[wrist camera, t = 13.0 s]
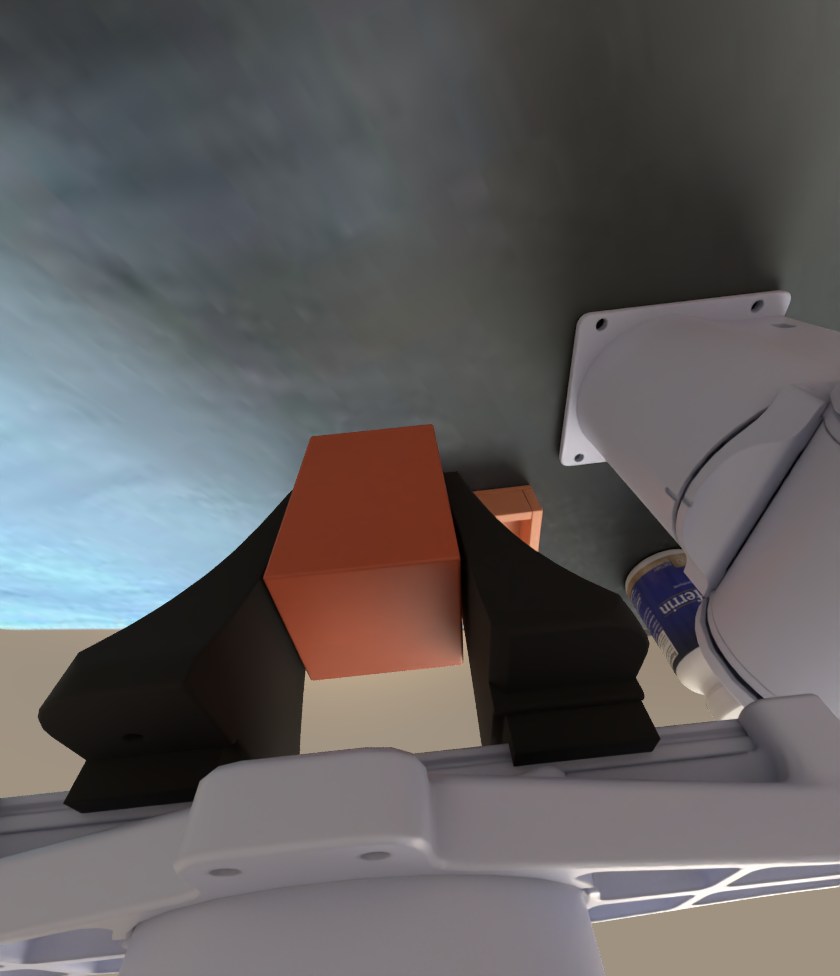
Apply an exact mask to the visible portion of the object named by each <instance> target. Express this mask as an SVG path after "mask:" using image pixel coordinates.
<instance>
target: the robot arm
mask: <svg viewBox="0 0 840 976" xmlns="http://www.w3.org/2000/svg"><path fill="white" fill-rule="evenodd" d="M790 300H791V295H790V293H789V292H786V291H781V290H775V291H767V292H758V293H750V294H741V295H733V296H724V297H716V298H707V299H699V300H690V301H682V302H673V303H665V304H656V305H648V306H639V307H631V308H622V309H614V310H605V311H597V312H589V313H586V314H584V315H583V316H581V317H580V319H579V320H578V322H577V325H576V333H575V340H574V348H573V355H572V363H571V370H570V377H569V385H568V392H567V400H566V407H565V415H564V422H563V430H562V437H561V444H560V452H559V460H560V461H561V463H562V464H563V465H565V466H573V465H581V464H590V463H598V462H608V463H609V464H610V466H611V467H612V468H613V469H614V470H615V471H616V472H617V474H618V475H619V476H620V477H621V478H622V479H623V481H624V482H625V483H626V484H627V485H628V486H629V487H630V489H631V490H632V491H633V492H634V493H635V494H636V496H637V497H638V498H639V499H640V500H641V501H642V503H643V504H644V505H645V506H646V507H647V508H648V509H649V511H650V512H651V513H652V514H653V515H654V516H655V518H656V519H657V520H658V521H659V522H660V523H661V525H662V526H663V527H664V528H665V529H666V530H667V531H668V533H669V534H670V535H671V536H672V537H673V538H674V540H675V541H676V542H677V543H678V544H679V545H680V546H681V548H682V549H683V550H684V552H685V554H686V557H687V563H686V567H685V569H684V573H685V574H686V575H687V577H688V578H689V579H690V580H691V582H692V583H693V584H694V585H695V587H696V588H697V589H698V590H699V591H700V593H701V594H702V595H703V596H704V597H705V598H704V599H703V601H702V602H701V604H700V605H699V607H698V610H697V613H696V617H695V632H696V636H697V641H698V644H699V647H700V649H701V651H702V654H703V656H704V658H705V660H706V661H707V663H708V665H709V666H710V668H711V670H712V671H713V673H714V674H715V675H716V677H717V678H718V679H719V681H720V682H721V683H722V685H723V686H724V687H725V688H726V689H727V690H728V692H729V693H730V694H731V695H732V696H733V697H734V698H735V699H736V700H737V701H738V702H739V703H740V704H741V705H742V706H743V707H744V708H743V710H742V711H741V713H740V714H739V717H738V719H729V720H720V721H711V722H702V723H692V724H683V725H674V726H665V727H654V725H653V723H652V721H651V719H650V717H649V715H648V713H647V711H646V709H645V707H644V705H643V703H642V701H641V700H643V699H644V692H643V690H642V688H641V686H640V685H639V683H638V681H637V679H636V676H637V674H638V672H639V670H640V668H641V666H642V664H643V661H644V659H645V657H646V655H647V652H648V648H649V640H648V637H647V634H646V633H645V631H644V629H643V628H642V626H641V625H640V623H639V621H638V620H637V618H636V617H635V615H634V614H633V612H632V611H631V610H630V608H629V607H628V606H627V605H626V603H625V602H624V601H623V600H622V598H621V597H620V595H618V594H616V593H614V592H612V591H610V590H607V589H605V588H603V587H601V586H599V585H596V584H594V583H592V582H590V581H588V580H585V579H583V578H581V577H580V576H578V575H576V574H574V573H572V572H570V571H568V570H567V569H565V568H563V567H561V566H559V565H558V564H556V563H554V562H553V561H551V560H550V559H548V558H547V557H545V556H544V555H542V554H540V553H539V552H537V551H536V550H534V549H533V548H532V547H530V546H529V545H528V544H526V543H525V542H524V541H522V540H521V539H520V538H519V537H517V536H516V535H515V534H514V533H513V532H511V531H510V530H509V529H508V528H507V527H506V526H505V525H504V524H503V523H501V522H500V521H499V520H498V519H497V518H496V517H495V516H494V515H493V514H492V513H491V512H490V511H489V510H488V508H487V507H486V506H485V505H484V504H483V503H482V502H481V501H480V500H479V498H478V497H477V496H476V495H475V494H474V492H473V491H472V490H471V489H470V487H469V486H468V485H467V483H466V482H465V481H464V479H463V478H462V476H461V475H460V474H459V473H458V472H457V471H456V472H446V473H443V475H444V480H445V485H446V490H447V495H448V500H449V504H450V509H451V514H452V519H453V524H454V529H455V534H456V539H457V543H458V548H459V553H460V560H461V596H462V619H463V625H464V631H465V637H466V643H467V650H468V656H469V663H470V668H471V676H472V682H473V688H474V695H475V702H476V709H477V716H478V722H479V729H480V737H481V743H482V746H480V747H471V748H462V749H453V750H443V751H434V752H425V753H415V754H412V753H410V752H406V751H403V750H399V749H395V748H392V747H389V748H388V747H385V748H384V747H376V748H375V747H370V748H369V747H365V748H355V749H347V750H337V751H328V752H318V753H309V754H300V733H301V718H302V703H303V692H304V680H305V670H306V669H305V666H304V664H303V662H302V660H301V658H300V656H299V654H298V652H297V650H296V647H295V645H294V643H293V641H292V639H291V637H290V635H289V633H288V631H287V628H286V626H285V624H284V622H283V620H282V618H281V616H280V614H279V612H278V609H277V607H276V605H275V603H274V601H273V599H272V597H271V595H270V593H269V590H268V588H267V586H266V584H265V582H264V579H263V577H264V574H265V571H266V568H267V565H268V562H269V559H270V556H271V553H272V550H273V547H274V544H275V541H276V538H277V535H278V532H279V530H280V527H281V524H282V521H283V518H284V515H285V512H286V509H287V506H288V503H289V500H290V497H291V494H292V491H293V490H292V491H291V492H290V493H289V494H288V495H287V496H286V497H285V498H284V499H283V501H282V502H281V503H280V504H279V505H278V506H277V507H276V508H275V510H274V511H273V512H272V513H271V514H270V515H269V516H268V517H267V518H266V519H265V520H264V521H263V523H262V524H261V525H260V526H259V527H258V528H257V529H256V530H255V531H254V532H253V533H252V534H251V535H250V536H249V537H248V538H247V539H246V540H245V541H244V542H243V543H242V544H241V545H240V546H239V547H238V548H237V549H236V550H235V551H233V552H232V553H231V554H230V555H229V556H228V557H227V558H226V559H224V560H223V561H222V562H221V563H220V564H219V565H217V566H216V567H215V568H214V569H212V570H211V571H210V572H209V573H208V574H206V575H205V576H204V577H202V578H201V579H200V580H198V581H197V582H195V583H194V584H193V585H191V586H190V587H188V588H187V589H186V590H184V591H183V592H181V593H180V594H179V595H177V596H176V597H175V598H173V599H172V600H170V601H169V602H167V603H165V604H164V605H162V606H161V607H159V608H158V609H156V610H154V611H153V612H151V613H150V614H148V615H146V616H145V617H143V618H141V619H140V620H138V621H136V622H135V623H133V624H131V625H129V626H128V627H126V628H124V629H122V630H120V631H118V632H117V633H115V634H113V635H111V636H109V637H107V638H105V639H104V640H102V641H100V642H98V643H96V644H94V645H92V646H91V647H89V648H87V649H85V650H83V651H81V652H79V653H78V654H77V656H76V657H75V659H74V660H73V662H72V663H71V664H70V666H69V667H68V669H67V670H66V672H65V673H64V674H63V676H62V677H61V679H60V681H59V682H58V683H57V685H56V686H55V687H54V689H53V690H52V692H51V693H50V695H49V696H48V698H47V699H46V700H45V702H44V703H43V705H42V706H41V708H40V709H39V714H38V719H39V721H40V723H41V726H42V728H43V729H44V730H45V731H46V732H47V733H48V734H49V735H50V736H51V737H53V738H54V739H56V740H57V741H59V742H60V743H62V744H63V745H65V746H66V747H68V748H69V749H71V750H72V751H73V752H75V753H77V754H78V755H79V756H81V757H82V758H84V759H85V760H86V762H85V764H84V766H83V767H82V769H81V771H80V773H79V775H78V777H77V779H76V780H75V782H74V784H73V786H72V788H71V790H70V791H64V792H55V793H46V794H36V795H27V796H18V797H8V798H0V976H83V975H97V974H112V973H119V975H118V976H606V974H605V970H604V966H603V963H602V959H601V956H600V952H599V949H598V945H597V942H596V938H595V935H594V931H593V927H592V924H591V923H596V922H603V921H609V920H615V919H622V918H628V917H634V916H641V915H647V914H653V913H660V912H667V911H673V910H679V909H685V908H692V907H698V906H705V905H711V904H717V903H724V902H730V901H737V900H744V899H751V898H757V897H764V896H771V895H778V894H786V893H794V892H800V891H808V890H817V889H825V888H834V887H840V332H838V331H834V330H831V329H827V328H824V327H820V326H816V325H813V324H809V323H805V322H802V321H798V320H794V319H791V318H787V317H784V315H785V313H786V310H787V308H788V306H789V303H790ZM756 301H757V304H756V306H755V307H754V308H753V309H752V310H751V307H752V305H753V304H754V303H755V302H756ZM600 319H604V323H603V325H602V326H601V327H600V328H598V329H596V324H597V322H598V321H599V320H600ZM577 454H581V455H580V456H579V457H578V458H575V456H576V455H577ZM299 754H300V755H299Z"/></svg>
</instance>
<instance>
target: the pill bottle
mask: <svg viewBox="0 0 840 976" xmlns="http://www.w3.org/2000/svg"><path fill="white" fill-rule="evenodd" d="M686 563H687V557H686V554H685V552H684V550H683V549H672V550H666V551H663V552H659V553H657V554H654V555H652V556H650V557H648V558H646V559H644V560H643V561H641V562H640V563H639V564H638V565H636V566H635V567H634V568H633V569H632V571H631V572H630V573H629V575H628V577H627V579H626V584H625V588H626V592H627V595H628V596H629V598H630V600H631V602H632V603H633V605H634V607H635V608H636V610H637V612H638V613H639V615H640V617H641V618H642V620H643V622H644V623H645V625H646V626H647V628H648V630H649V631H650V633H651V635H652V636H653V638H654V640H655V641H656V643H657V644H658V646H659V648H660V649H661V651H662V652H663V654H664V656H665V657H666V659H667V661H668V662H669V664H670V666H671V667H672V669H673V670H674V673H675V674H676V675H677V677H678V678H679V680H680V681H681V682H682V684H683V685H685V686H686V687H687V688H688V689H690V690H692V691H694V692H696V693H699V694H703V695H705V697H706V698H707V699H706V706H707V709H708V710H709V711H710V713H711V714H712V716H713V717H714V719H715V721H720V720H729V719H738V717H739V714H740V713H741V711H742V710H743V708H744V707H743V706H742V705H741V704H740V703H739V702H738V701H737V700H736V699H735V698H734V697H733V696H732V695H731V694H730V693H729V692H728V690H727V689H726V688H725V687H724V686H723V685H722V683H721V682H720V681H719V679H718V678H717V677H716V675H715V674H714V673H713V671H712V670H711V668H710V666H709V665H708V663H707V661H706V660H705V658H704V656H703V654H702V651H701V649H700V647H699V644H698V641H697V636H696V632H695V617H696V613H697V610H698V607H699V605H700V604H701V602H702V601H703V599H704V598H705V597H704V596H703V595H702V594H701V593H700V591H699V590H698V589H697V588H696V587H695V585H694V584H693V583H692V582H691V580H690V579H689V578H688V577H687V575H686V574H685V573H684V569H685V567H686Z"/></svg>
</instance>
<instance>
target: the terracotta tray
mask: <svg viewBox="0 0 840 976" xmlns="http://www.w3.org/2000/svg"><path fill="white" fill-rule="evenodd" d="M473 492H474V494H475V495H476V496H477V497H478V498H479V500H480V501H481V502H482V503H483V504H484V505H485V506H486V507H487V508H488V510H489V511H490V512H491V513H492V514H493V515H494V516H495V517H496V518H497V519H498V520H499V521H500V522H501V523H503V524H504V525H505V526H506V527H507V528H508V529H509V530H510V531H511V532H513V533H514V534H515V535H516V536H517V537H519V538H520V539H521V540H522V541H524V542H525V543H526V544H528V545H529V546H530V547H532V548H533V549H534V550H536V551H537V552H538V547H539V538H540V530H541V521H542V513H543V509H542V507H541V506H540V504H539V502H538V500H537V498H536V496H535V494H534V492H533V490H532V488H531V486H530V485H525V486H516V487H508V488H499V489H490V490H482V491H473ZM462 622H463V619H462Z"/></svg>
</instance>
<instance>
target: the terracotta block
mask: <svg viewBox="0 0 840 976" xmlns="http://www.w3.org/2000/svg"><path fill="white" fill-rule="evenodd" d="M263 579H264V582H265V584H266V586H267V588H268V590H269V593H270V595H271V597H272V599H273V601H274V603H275V605H276V607H277V609H278V612H279V614H280V616H281V618H282V620H283V622H284V624H285V626H286V628H287V631H288V633H289V635H290V637H291V639H292V641H293V643H294V645H295V647H296V650H297V652H298V654H299V656H300V658H301V660H302V662H303V664H304V666H305V669H306V671H307V673H308V675H309V677H310V679H311V680H322V679H331V678H341V677H350V676H360V675H369V674H378V673H387V672H397V671H406V670H416V669H425V668H435V667H443V666H453V665H461V664H463V632H462V596H461V560H460V553H459V548H458V543H457V539H456V534H455V529H454V524H453V519H452V514H451V509H450V504H449V500H448V495H447V490H446V485H445V480H444V475H443V470H442V466H441V461H440V456H439V451H438V446H437V441H436V436H435V431H434V427H433V425H432V424H428V425H419V426H409V427H399V428H389V429H380V430H370V431H360V432H351V433H341V434H331V435H322V436H312V437H311V438H310V441H309V444H308V447H307V450H306V453H305V456H304V459H303V461H302V464H301V467H300V470H299V473H298V476H297V479H296V482H295V485H294V488H293V491H292V494H291V497H290V500H289V503H288V506H287V509H286V512H285V515H284V518H283V521H282V524H281V527H280V530H279V532H278V535H277V538H276V541H275V544H274V547H273V550H272V553H271V556H270V559H269V562H268V565H267V568H266V571H265V574H264V577H263Z"/></svg>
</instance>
